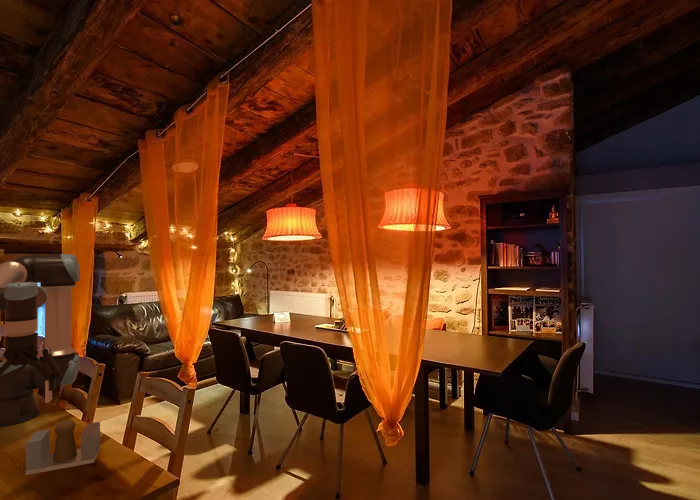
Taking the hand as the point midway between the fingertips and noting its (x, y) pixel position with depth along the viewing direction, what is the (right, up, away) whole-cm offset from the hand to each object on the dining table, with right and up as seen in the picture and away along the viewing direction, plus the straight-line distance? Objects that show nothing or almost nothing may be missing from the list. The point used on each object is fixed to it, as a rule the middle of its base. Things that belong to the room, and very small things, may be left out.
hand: (21, 404), depth 115 cm
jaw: (+4, -18, +1) cm, 19 cm away
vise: (+10, -19, +4) cm, 22 cm away
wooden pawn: (+10, -18, +4) cm, 21 cm away
